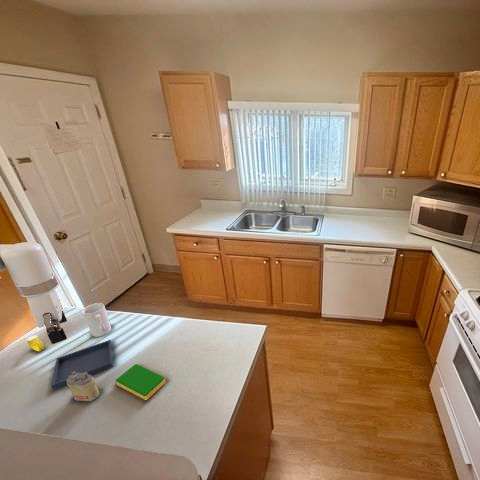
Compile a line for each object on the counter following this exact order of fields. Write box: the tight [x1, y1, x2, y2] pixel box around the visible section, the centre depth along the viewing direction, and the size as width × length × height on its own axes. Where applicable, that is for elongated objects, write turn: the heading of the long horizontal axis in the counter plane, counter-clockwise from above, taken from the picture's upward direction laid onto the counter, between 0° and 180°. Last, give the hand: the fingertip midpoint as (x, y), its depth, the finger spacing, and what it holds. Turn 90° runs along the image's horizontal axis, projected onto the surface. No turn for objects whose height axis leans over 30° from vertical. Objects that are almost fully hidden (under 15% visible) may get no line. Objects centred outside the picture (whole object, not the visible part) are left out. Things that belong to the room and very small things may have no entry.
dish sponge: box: [115, 363, 166, 401], centre depth 85 cm, size 7×14×2 cm, turn 69°
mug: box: [81, 302, 112, 338], centre depth 102 cm, size 10×7×12 cm, turn 52°
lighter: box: [66, 371, 101, 402], centre depth 79 cm, size 7×4×10 cm, turn 88°
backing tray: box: [51, 339, 114, 391], centre depth 91 cm, size 15×13×2 cm
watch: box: [26, 334, 45, 352], centre depth 94 cm, size 6×3×6 cm, turn 73°
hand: (60, 331), depth 78 cm, fingers open, 9 cm apart
